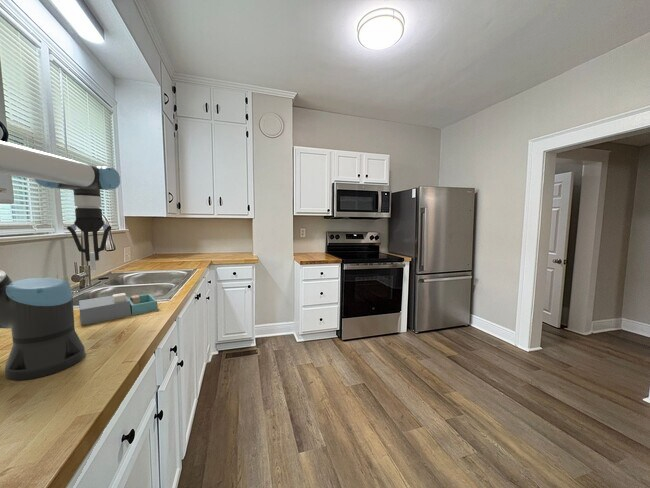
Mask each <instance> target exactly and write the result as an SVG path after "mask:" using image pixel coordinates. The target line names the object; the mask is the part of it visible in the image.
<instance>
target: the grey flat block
mask: <svg viewBox="0 0 650 488" xmlns="http://www.w3.org/2000/svg"><path fill="white" fill-rule="evenodd" d="M78 305H79V306H78V307H79V308H78V309H79V316H80V325H81V326H85V325H89V324H95V323H99V322H104V321H110V320H115V319H119V318H120V319H121V318H124V317H129V316H132V314H131V309H130V301H129V299H128V296H127V295H126V301H122V302H117V303H114V302H113V297H112V295H107V296H101V297H95V298H88V299H81V300H78Z"/></svg>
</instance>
